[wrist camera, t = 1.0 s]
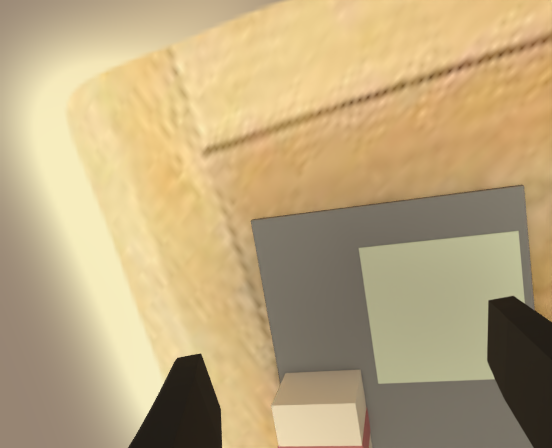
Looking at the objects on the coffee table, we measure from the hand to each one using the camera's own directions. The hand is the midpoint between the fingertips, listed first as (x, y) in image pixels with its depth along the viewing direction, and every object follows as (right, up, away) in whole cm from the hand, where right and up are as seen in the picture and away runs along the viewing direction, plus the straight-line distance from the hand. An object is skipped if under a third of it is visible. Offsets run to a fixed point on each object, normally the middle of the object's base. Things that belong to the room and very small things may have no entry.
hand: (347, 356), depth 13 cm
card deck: (+2, -10, +21) cm, 24 cm away
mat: (+6, -5, +20) cm, 21 cm away
